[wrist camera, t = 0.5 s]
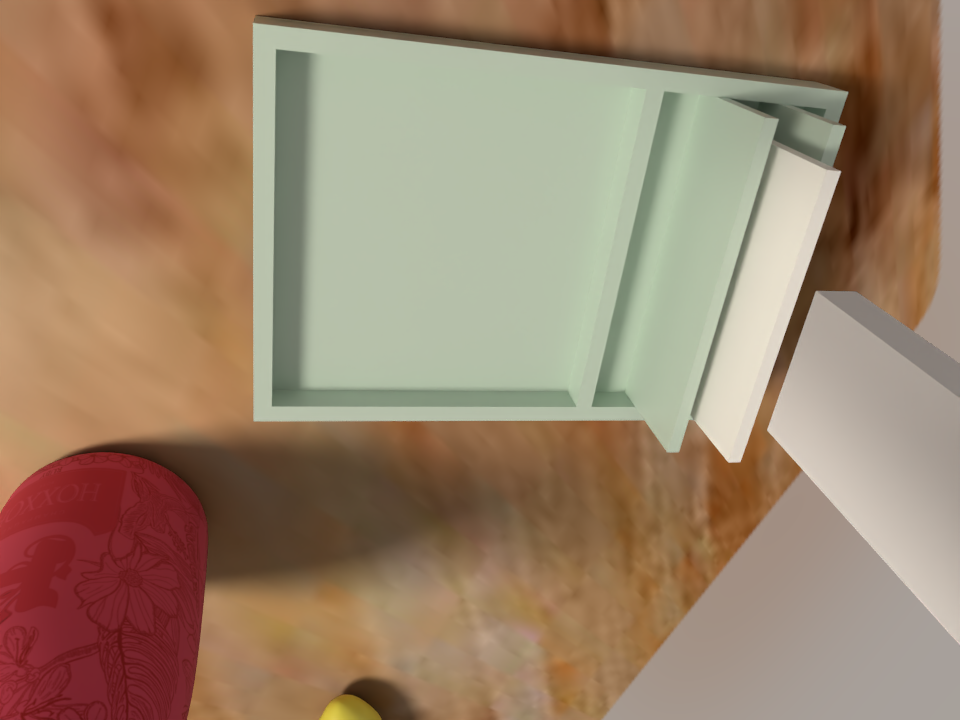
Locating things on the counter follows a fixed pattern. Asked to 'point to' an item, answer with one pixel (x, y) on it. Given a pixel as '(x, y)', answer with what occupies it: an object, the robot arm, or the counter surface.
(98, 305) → the counter surface
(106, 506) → the wine bottle
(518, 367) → the dish rack
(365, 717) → the lemon
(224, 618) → the counter surface
